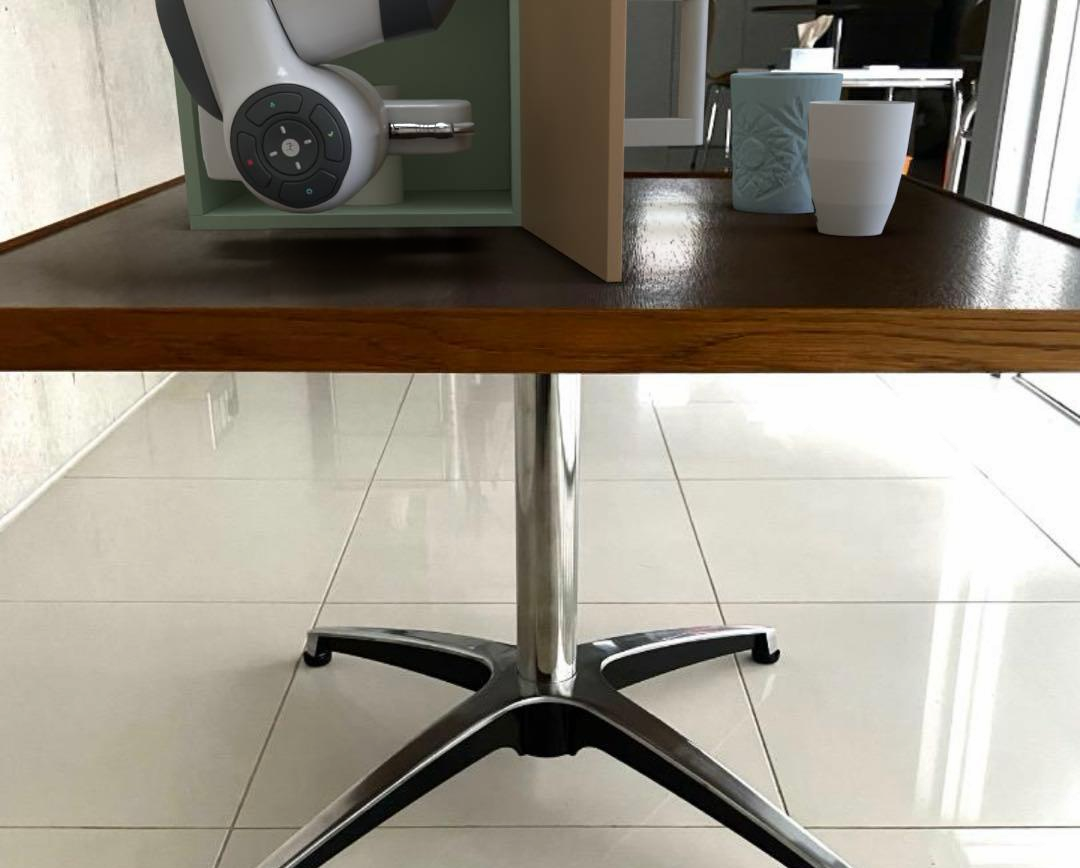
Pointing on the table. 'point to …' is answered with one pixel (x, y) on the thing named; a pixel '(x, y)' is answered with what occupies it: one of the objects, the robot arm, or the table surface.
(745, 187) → the embossed blue planter
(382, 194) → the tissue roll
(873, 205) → the cup
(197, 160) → the cupboard
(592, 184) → the cupboard door
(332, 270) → the table surface
